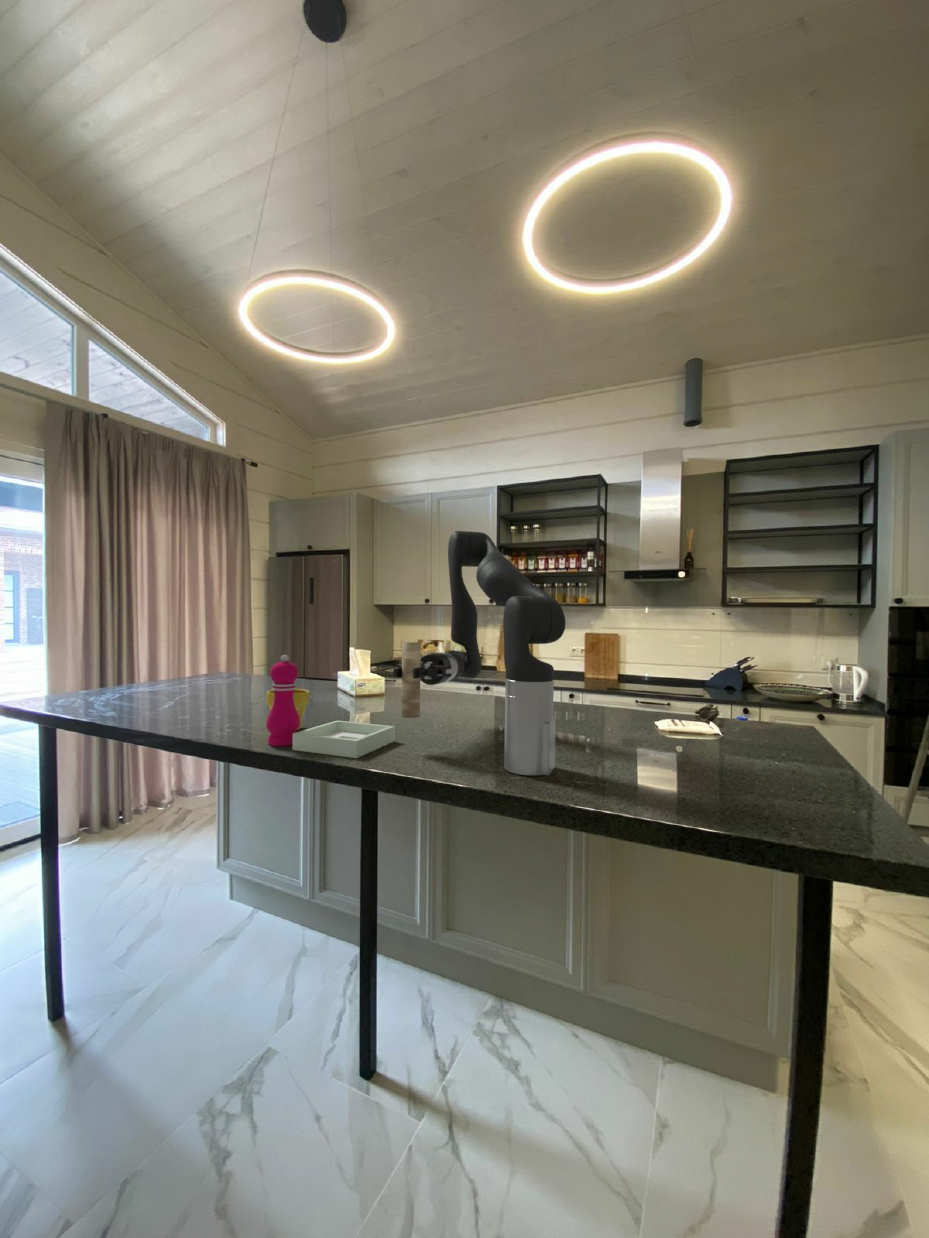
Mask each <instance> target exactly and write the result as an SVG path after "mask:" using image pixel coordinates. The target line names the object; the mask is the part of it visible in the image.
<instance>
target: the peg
mask: <svg viewBox="0 0 929 1238" xmlns="http://www.w3.org/2000/svg"><path fill="white" fill-rule="evenodd" d="M421 644H422V643H421V642H418V641H417V642H415V641H413V642H411V641H409V642H408V641H407V642H406V641H404V642H401V647H402V649H401V663H402V677H401V715H400V716H401V718H404V719H415V718H420V717H421V680H420V678H418V679H414V678H413V669H414V668H419V667H420V664H421V657H422V656H421V653H422V651H421V650H422V649H421V648H422V645H421Z"/></svg>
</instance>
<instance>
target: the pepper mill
mask: <svg viewBox="0 0 929 1238" xmlns="http://www.w3.org/2000/svg"><path fill="white" fill-rule="evenodd" d="M289 659H290V657H289V655H287V654H282V655H281V656H280V662H276V663H275V664H273V665H272V667H271V669H270V672H269V673H270V674H269V676H270V678H271V680H272V681H273V683H272V688H271V690H274V703H273V706H272V709H271V711H270V710H269V712H268V713H269V714H268V715H267V718H266V723H265V727H266V729H267V730H268V732H270V734H268V737H267V738H268V739H267V744H268V746H273V747H289V746H293V733H296V732H297V731H298V730H297V729H298V728H299V726H300V718H299V714H298V712H297V710H296V708H295V705H294V700H293V693H294V690H295V689H297V687H296V685H297V683H295V681H296V680H297V679H298V677H299V668H298V667H297V665H295V663H293V662H291V661H289ZM296 730H297V731H296Z"/></svg>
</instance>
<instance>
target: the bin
mask: <svg viewBox="0 0 929 1238" xmlns="http://www.w3.org/2000/svg"><path fill="white" fill-rule="evenodd" d="M395 731H396V727H395V726H394V725H385V724H377V723H375V724H374V723H367V722H366V723H365V722H357V721H356V722H355V721H346V720H345V721H344V720H334V721H331V722H327V723H324V724H320V725H318V726H317V725H316V726H313V727H311V728H307V729H303V730H299V731H296V732H295V733H293V745H292V751H297V752H298V751H299V752H306V753H315V754H322V755H328V756H329V755H330V756H337V757H343V758H350V759H352V758H353V759H358V758H360V757H362V756H365V755H367V754H368V753H371V752H374V751H376V750H379V749H380V748H383V747H385V746H387V745H389V743H390V744H392V743H394V742H395V741H396V740H395V739H396V738H395V735H396V733H395ZM382 746H383V747H382Z"/></svg>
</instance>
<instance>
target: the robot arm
mask: <svg viewBox="0 0 929 1238" xmlns="http://www.w3.org/2000/svg"><path fill="white" fill-rule="evenodd" d="M447 558H448V559H447V561H448V563H447V564H448V573H449V574H448V576H449V588H450V596H451V600H450V601H451V625H450V639H451V641H452V642H453V643H455V644H457V645H460V646H462V648H463V649H465V651H460V650H455V649H454V650H447V651H446V652H443V651H441V652H431V653H425V654H423V655H422V656H421V664H420V667H419V668H414V669H413V678H414V679H418V678H420V682H422V683H423V684H425V685H428V686H434V685H439V684H444V683H447V682H449V681H451V680H456V679H458V678H464V679H472V680H473V679H476V678H477V677H479V675H480V673H481V671H482V666H483V665H482V658H481V654H480V650H479V649H480V648H479V645H478V637H477V636H478V635H477V633H478V610H477V607H476V603H475V602H474V600H473V598H472V596H471V594H470V593H469V591H468V589H467V587H466V585H465V581H464V577H463V567H469V568H470V567H471V568H472V567H474V568H475V567H477V569H476V575H475V577H476V581H477V583H478V584H477V585H478V587H479V588H480V589H481V591H482V592H483V593H484V594H485V595H486V597H488V598H489V600H491V601H493V602H494V603H496V604H497V605H500V606H501V607H504V610H503V617H502V622H503V623H502V631H503V650H504V651H503V659H504V660H503V661H504V668H505V686H504V687H505V692H504V693H505V697H504V747H503V748H504V750H503V751H504V753H503V754H504V755H503V759H504V760H503V762H504V763H503V768H504V769H505V770H506V771H507V772H509V773H513V774H516V775H522V776H550V775H551V773H552V772H553V771H554V769H555V768H556V764H555V763H556V718H554V695H555V694H554V691H555V690H554V687H555V686H554V683H555V669H554V666H553V665H552V664H550V663H547V662H545V661H543V660H540V659H538V658H537V657H536V656H534V655H533V654H532V653H531V650H530V645H546V644H551V643H555V642H557V641H559V640H560V638H562V636H563V635H564V633H565V629H566V626H567V625H566V624H567V623H566V616H565V613H564V612H565V611H564V610H563V608H562V606H561V604H560V603H559V602H558V600H556V598H554V597H553V596H552V595H549V593H547V592H545V591H544V590H542V589H541V588H540V587H538V586H537V585H536V584H534V583H533V582H532V581H531V580H530V579H529V578H527V576H525V575H524V574H523V573H522V572H521V571H520V570H519V569H518V568H517V567H516V565H514V564H513V563H512V562H511V560H509V559H508V558H507V557H506V556H505V555H504V554H503V553H502V552H501V551H500V550H499V549H498V548H497V546H496V544H495V542H493V540H492V538H491V537H490V535H488V534H486V533H485V532H483V531H466V530H465V531H464V530H456V531H455V530H454V531H453V532H452V533H451V534H450V537H449V539H448V546H447ZM392 670H393V671H392V672H393V673H392V674H393V677H394V678H396V679H400V678H402V662H401V663H398V664H395V665H394V668H393V669H392Z"/></svg>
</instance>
